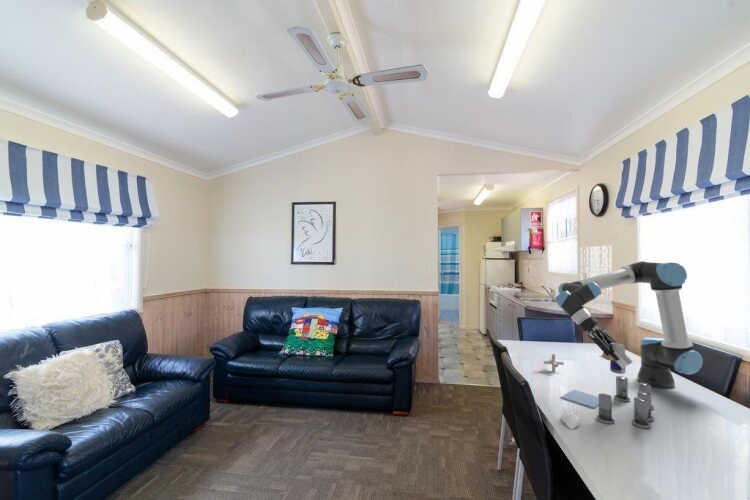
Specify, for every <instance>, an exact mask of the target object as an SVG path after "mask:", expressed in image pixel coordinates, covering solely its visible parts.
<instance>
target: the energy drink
mask: <svg viewBox="0 0 750 500" xmlns="http://www.w3.org/2000/svg"><path fill="white" fill-rule="evenodd" d="M610 347H611V348H612V349H613V351H614V352H615V351H616V352H617V353H618V354H619V356H620V357H621V358H622V359H623V360H624V361H625V354H626V346H625V344H624V343H621V342H617V343H610ZM609 371H611V373H613V374H619V375H623V374H625V373H626V367H624V368H623V369H622V368H621V367H620V365H619V364H618V363H617V362H616V361H615V360H614V359H613V358H612V357H611V356H610V360H609Z"/></svg>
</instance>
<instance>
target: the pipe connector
mask: <svg viewBox="0 0 750 500" xmlns="http://www.w3.org/2000/svg"><path fill="white" fill-rule="evenodd" d="M543 363H544V365H551V372H552V373H556V368H558V367H559V365H560V366H564V365H565V363H564V361H557V360H556V354H555V353H551V358H549V360H543Z"/></svg>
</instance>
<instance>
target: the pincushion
mask: <svg viewBox="0 0 750 500" xmlns="http://www.w3.org/2000/svg"><path fill="white" fill-rule="evenodd" d="M573 411H574V413H571V412H565V413H563V414H561V420H562V421H563V423H564V424H565V425H566V426H567V427H569V428H570V430H574V429H575V428H577V426H579V425H580V419H579V417H578V415H576V412H575V408H573Z"/></svg>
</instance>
